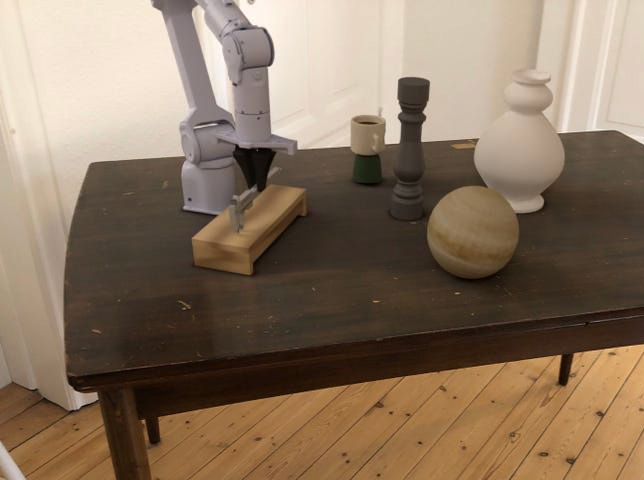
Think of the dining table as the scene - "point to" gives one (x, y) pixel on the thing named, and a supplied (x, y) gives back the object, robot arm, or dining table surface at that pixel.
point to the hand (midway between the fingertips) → (257, 189)
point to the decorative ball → (473, 232)
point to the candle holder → (410, 149)
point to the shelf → (248, 230)
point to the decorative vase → (522, 144)
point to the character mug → (367, 147)
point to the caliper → (247, 201)
